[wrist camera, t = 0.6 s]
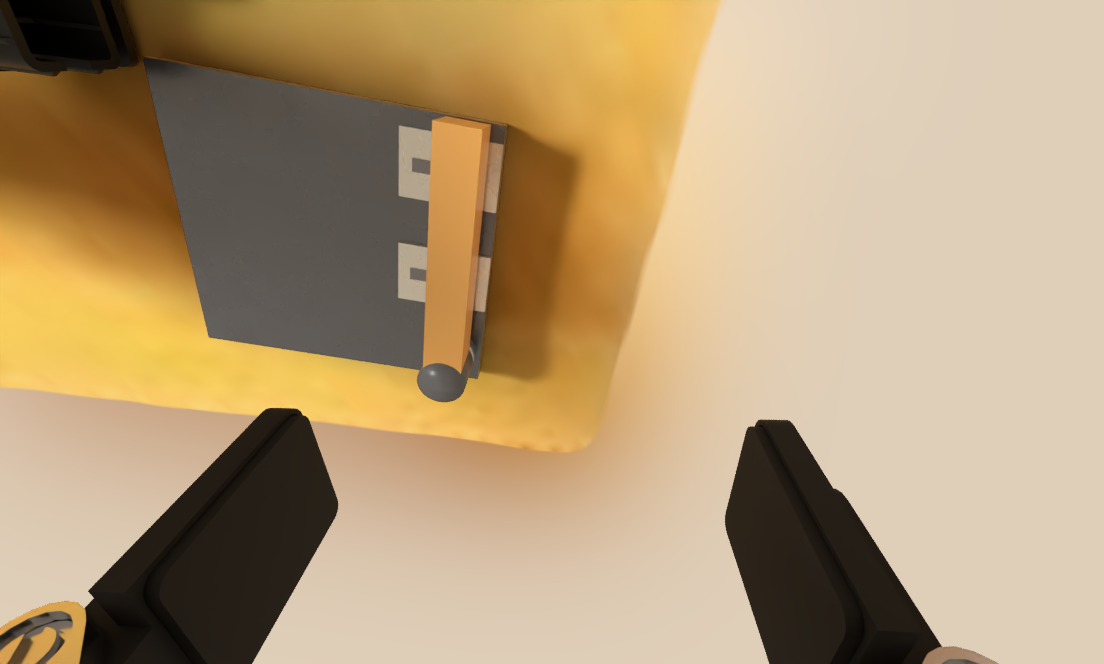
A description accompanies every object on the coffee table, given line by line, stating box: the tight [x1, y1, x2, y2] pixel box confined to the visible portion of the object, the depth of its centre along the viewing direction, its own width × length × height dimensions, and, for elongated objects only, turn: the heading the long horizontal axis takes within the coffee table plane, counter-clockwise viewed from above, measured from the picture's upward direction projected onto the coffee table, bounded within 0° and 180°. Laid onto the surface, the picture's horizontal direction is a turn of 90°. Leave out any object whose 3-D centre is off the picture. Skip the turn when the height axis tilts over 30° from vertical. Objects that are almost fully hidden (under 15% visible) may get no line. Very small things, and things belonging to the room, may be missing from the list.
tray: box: [142, 56, 508, 379], centre depth 30 cm, size 20×18×2 cm
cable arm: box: [417, 116, 491, 402], centre depth 28 cm, size 18×3×3 cm, turn 170°
